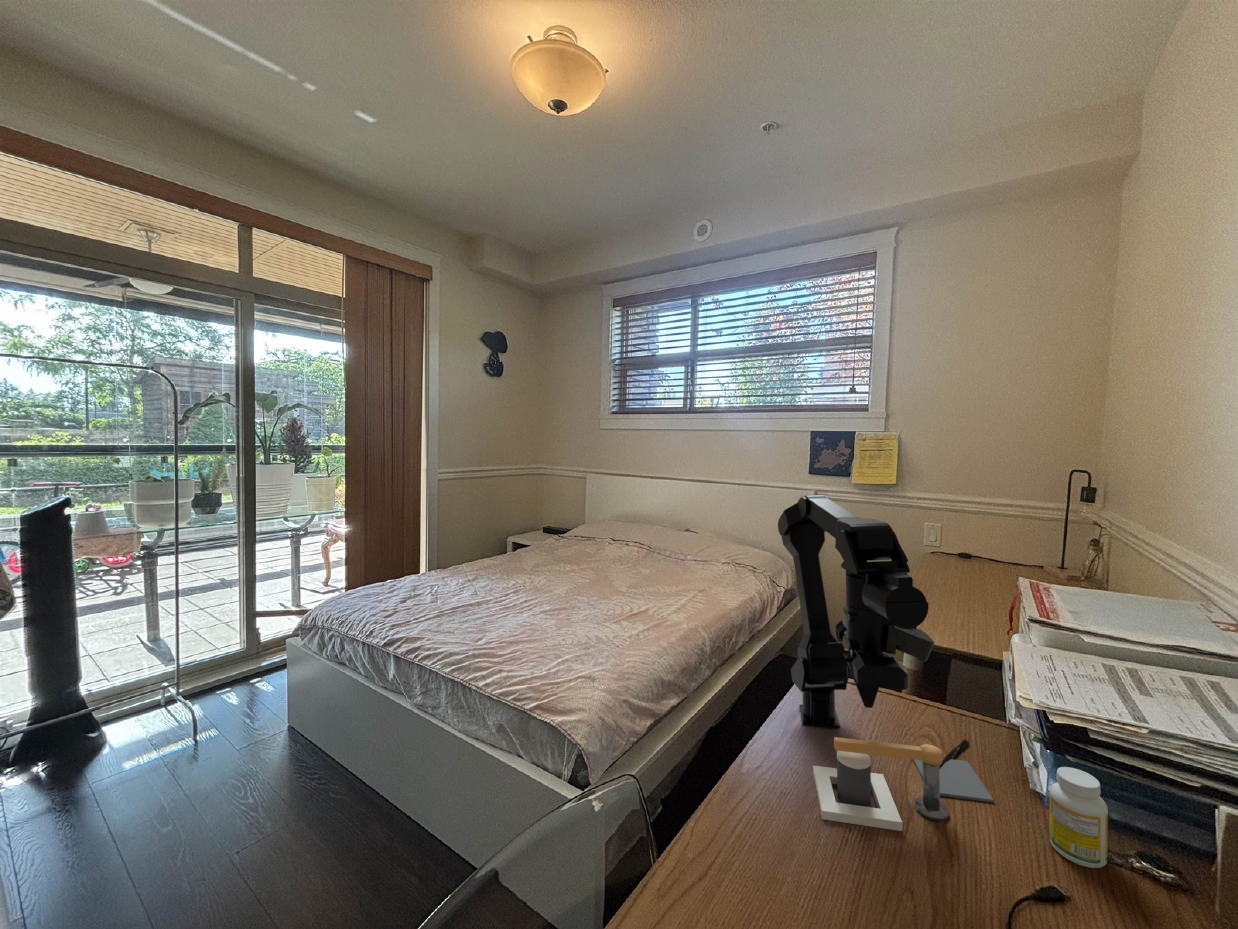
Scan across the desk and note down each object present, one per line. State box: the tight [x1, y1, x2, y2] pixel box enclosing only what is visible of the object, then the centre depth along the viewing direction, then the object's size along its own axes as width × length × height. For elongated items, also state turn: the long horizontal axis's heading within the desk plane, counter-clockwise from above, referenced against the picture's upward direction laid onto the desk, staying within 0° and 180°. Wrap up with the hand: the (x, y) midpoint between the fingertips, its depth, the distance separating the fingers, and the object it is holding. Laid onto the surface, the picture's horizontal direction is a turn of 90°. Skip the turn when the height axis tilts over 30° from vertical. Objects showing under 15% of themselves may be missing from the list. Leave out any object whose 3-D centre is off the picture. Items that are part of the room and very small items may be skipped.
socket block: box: [812, 765, 903, 832], centre depth 72 cm, size 10×10×1 cm
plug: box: [836, 751, 872, 807], centre depth 72 cm, size 4×4×6 cm
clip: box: [833, 736, 943, 765], centre depth 71 cm, size 3×14×1 cm, turn 75°
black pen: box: [939, 738, 970, 768], centre depth 81 cm, size 12×1×1 cm, turn 126°
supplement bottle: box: [1049, 766, 1109, 869], centre depth 62 cm, size 5×5×10 cm
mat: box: [912, 757, 995, 803], centre depth 76 cm, size 9×8×1 cm
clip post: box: [914, 761, 949, 822], centre depth 70 cm, size 4×4×7 cm
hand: (868, 706), depth 76 cm, fingers closed
